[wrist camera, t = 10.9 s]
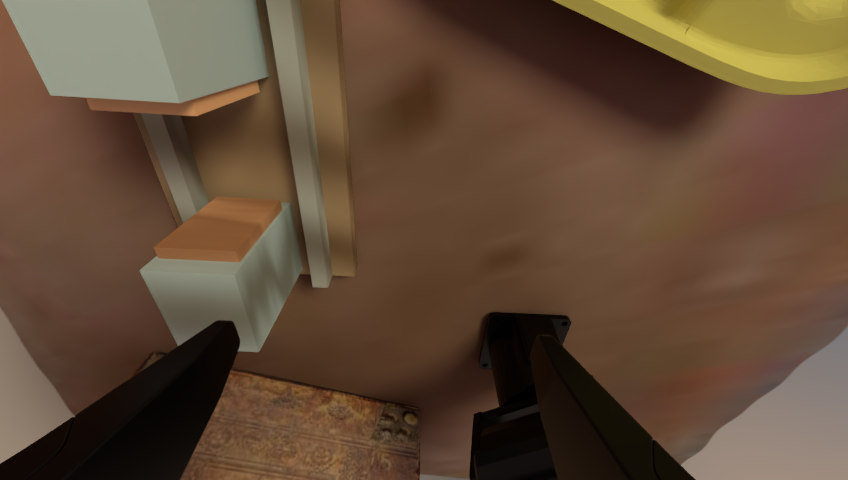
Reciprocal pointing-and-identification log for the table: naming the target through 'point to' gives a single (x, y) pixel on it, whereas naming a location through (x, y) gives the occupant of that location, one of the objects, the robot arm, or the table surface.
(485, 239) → the table surface
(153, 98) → the grey green block
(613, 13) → the plastic component
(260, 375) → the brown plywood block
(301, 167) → the rail
